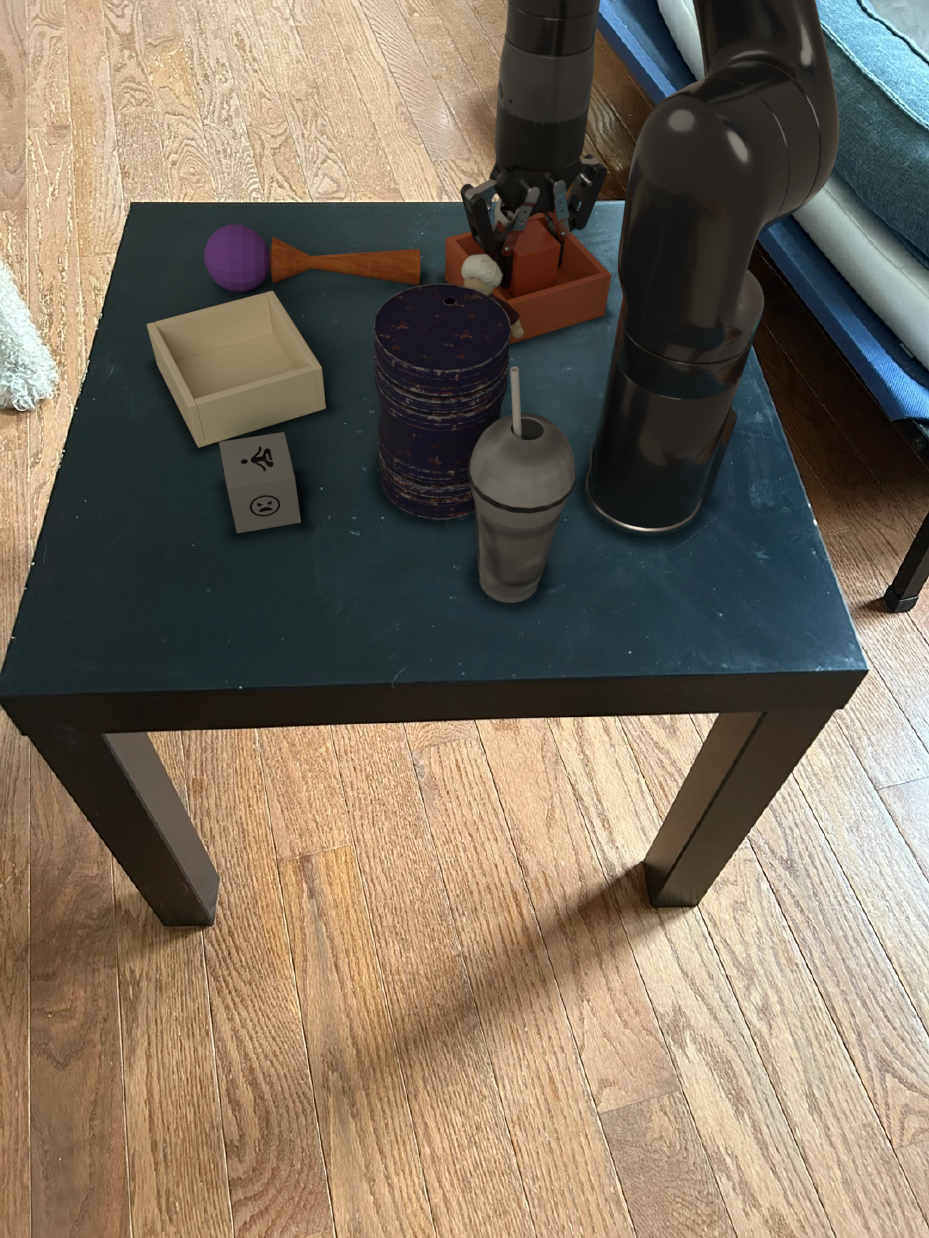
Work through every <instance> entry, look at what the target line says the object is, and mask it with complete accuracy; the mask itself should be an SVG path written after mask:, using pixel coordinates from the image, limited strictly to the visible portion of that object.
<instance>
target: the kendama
mask: <svg viewBox="0 0 929 1238" xmlns="http://www.w3.org/2000/svg"><path fill="white" fill-rule="evenodd" d="M203 255H204V256H203V258H204V265H205V267H206V270H207V272H208V274H209V276H210V278H211V279H212V280H213V281H214V282H215V283H216V284H217V285H218V286H219V287H220V288H223V289H225V290H227V291H229V292H231V293H243V294H244V293H248V292H250V291H252V290H255V289H258V288H259V287H260V286H261V285H262V284H263V282H264V281H266V279H267V277H268V274H269V272H270V273H271V279H272V284H273V285H275V284H278V283H280V282H282V281H285V280H286V279H289V278H291V277H295V276H297V275H298V274H301V273H303V272H305V271H308V270H310V269H313V270H319V271H323V272H324V271H326V272H330V273H331V272H332V273H337V274H342V275H344V274H345V275H349V276H356V277H363V278H367V279H368V278H369V279H375V280H381V281H387V282H391V283H393V282H394V283H399V284H406V285H411V286H420V280H421V250H420V248H411V249H397V250H396V249H395V250H382V251H380V250H379V251H367V252H365V251H364V252H351V253H350V252H349V253H337V254H323V255H322V254H321V255H310V254H307V253H306V252H304V251H301V250H300V249H298V248H296V247H294V246H292V245H290V244H288V243H286V242H284V241H283V240H280V239H279V238H277V237H275V236H272V237H271V244H270V250H269V248H268V245H267V243H266V240H265V239H264V238H263V237H262V236H261V235H260V234H259V233H258V232H257V231H256V230H255V229H253V228H251V227H248V226H247V225H244V224H232V223H230V224H227V225H225V226H224V225H223V226H222V227H219V228H218V229H216V230H215V231H214V232H213V233H212V234H211V236H210V237H209V238H208V240H207V242H206V245H205V248H204V254H203Z"/></svg>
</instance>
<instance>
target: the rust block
mask: <svg viewBox="0 0 929 1238" xmlns="http://www.w3.org/2000/svg"><path fill="white" fill-rule="evenodd" d="M560 247H561V244H560V243H559V242H558V241H557V240H556V239H555V238H554V237H553V236H552V235H551V234H550V233H549V232H548V230H547V229H546V228H545V227H544V226H543V225H542V224H541V223H540V222H539V221H538V220H534V221H530V222H527V224H526V227H525V230H524V232H523V233H520V234H519V236H518V238H517V241H516V244H515V247H514V249H513V252H512V254H513V266H512V277H511V286H510V287H509V288H508V289H509V290H510V292H511V293H512V294H513V295H514V296H515V297H517V296H521V295H524V294H528V293H531V292H535V291H538V290H542V289H545V288H549V287H552V286H555V284H556V277H557V269H558V262H559V254H560Z"/></svg>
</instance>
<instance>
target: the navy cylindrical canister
mask: <svg viewBox="0 0 929 1238" xmlns="http://www.w3.org/2000/svg"><path fill="white" fill-rule="evenodd" d="M373 321H374V322H373V335H374V336H373V337H374V351H373V366H374V367H373V369H374V385H375V390H376V393H377V396H378V399H379V402H380V403H379V404H380V405H379V406H380V416H379V420H378V421H379V422H378V425H377V426H378V431H377V432H378V438H377V458H378V462H379V468H380V469H379V470H380V472H379V473H380V483H381V488H382V490H383V491H384V494H385V495H386V497H387V498H388V499H389V500H390V502H392V503H393V504H394V505H395V506H396V507H398V508H399V509H400V510H401V511H404V512H406V513H408V514H410V515H413V516H415V517H419V518H423V519H427V520H437V521H440V520H443V521H444V520H451V519H453V520H454V519H457V518H458V519H459V518H461V517H465V516H467V515H470V514H473V513H475V501H474V498H473V495H472V490H471V485H470V481H469V478H468V464H469V461H470V459H471V457H472V453H473V450H474V448H475V446H476V444H477V442H478V440H479V438H480V436H481V435H482V433H483V432H484V431H485V430H486V429H487V428H488V427H489V426H491V425H492V424H493V423H494V422H495V421H497V420H499V419H501V410H502V403H503V401H504V398H505V396H506V392H507V389H508V384H509V381H508V377H509V369H510V360H511V357H510V347H511V344H510V335H511V324H510V320H509V317H508V315H507V313H506V312H505V310H504V309H503V308H502V307H501V306H500V305H499V303H497V302H496V301H495V300H494V299H492V298H491V297H489V296H487V295H486V294H484V293H482V292H479V291H477V290H475V289H471V288H468V287H464V286H459V285H453V284H449V283H429V284H422V285H418V286H417V285H415V286H413V287H409V288H406V289H404V290H402V291H399V292H398V293H396V294H393V295H392V296H391V297H389V298H388V299H387V300H386V301H385V302H384V303H383V304H381V306H380V307H379V308H378V311H377V312H376V314H375V317H374V320H373Z"/></svg>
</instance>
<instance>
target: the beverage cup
mask: <svg viewBox="0 0 929 1238" xmlns="http://www.w3.org/2000/svg"><path fill="white" fill-rule="evenodd" d="M509 369H510V389H511V411H512V413H511V414H508V415H505V416H503V417H500V419H499V420H497V421H495V422H494V423H493V424H492V425H491V426H489V427H488V428H487V429H486V430H485V431H484V432H483V433H482V435H481V436H480V438H479V440H478V442H477V444H476V446H475V448H474V450H473V453H472V457H471V459H470V461H469V464H468V478H469V481H470V485H471V490H472V495H473V498H474V501H475V511H474V516H475V517H474V519H475V532H476V533H475V537H476V539H475V540H476V555H477V556H476V557H477V570H478V575H479V584H480V586H481V589H482V590H483V591H484V593H485V594H486V595H487V596H489V597H490V598H491V599H493V600H495V601H498V602H500V603H501V602H502V603H507V604H508V603H509V604H515V603H519V602H523V601H525V600H527V599H529V598H531V597H532V595H533V594H535V592H536V591H537V588H538V586H539V582H540V580H541V578H542V575H543V573H544V571H545V566H546V564H547V560H548V557H549V554H550V550H551V548H552V543H553V540H554V537H555V535H556V531H557V527H558V524H559V521H560V517H561V514H562V511H563V510H564V508H565V505H566V504H567V502H568V499H569V497H570V496H571V494H572V493H573V490H574V488H575V486H576V483H577V481H576V480H577V476H576V472H577V471H576V465H575V455H574V454H575V453H574V451H573V448H572V446H571V443H570V441H569V439H568V437H567V435H566V434H565V432H563V431H562V429H561V428H560V427H558V425H557V424H555V423H554V422H553V421H551V420H550V419H548V418H546V417H544V416H542V415H540V414H539V415H538V414H535V413H529V412H522V411H521V410H522V409H521V391H520V389H521V388H520V369H519V367H518V366H511V368H509Z"/></svg>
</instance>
